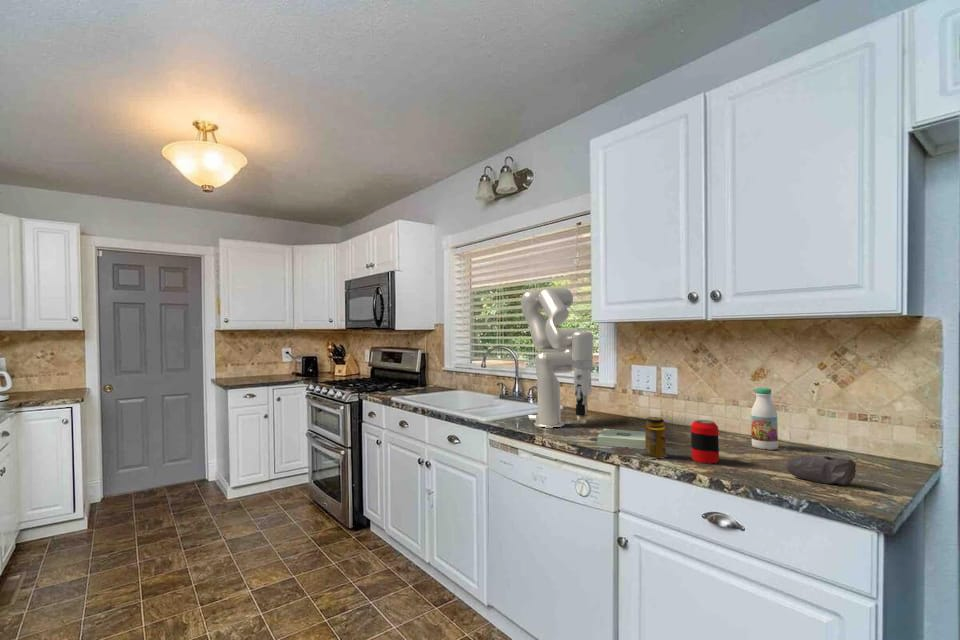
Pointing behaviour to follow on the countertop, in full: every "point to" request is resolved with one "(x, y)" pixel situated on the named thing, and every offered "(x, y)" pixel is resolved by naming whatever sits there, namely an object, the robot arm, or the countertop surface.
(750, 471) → the countertop surface
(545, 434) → the countertop surface
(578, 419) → the peg
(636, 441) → the board
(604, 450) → the countertop surface
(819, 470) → the perforated stone tool
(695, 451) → the soda can
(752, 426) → the milk bottle
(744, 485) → the countertop surface
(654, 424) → the condiment
